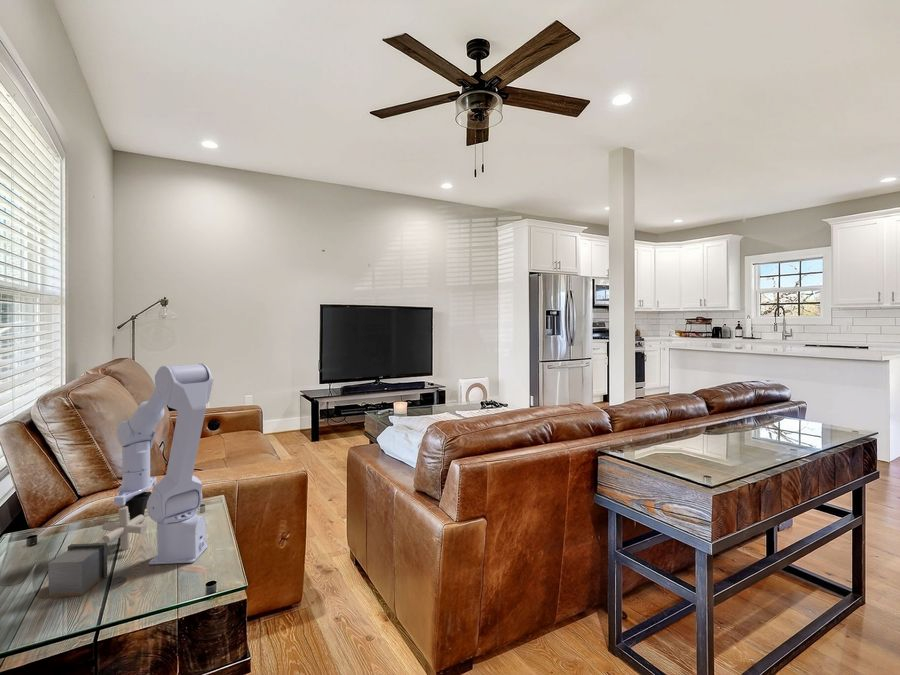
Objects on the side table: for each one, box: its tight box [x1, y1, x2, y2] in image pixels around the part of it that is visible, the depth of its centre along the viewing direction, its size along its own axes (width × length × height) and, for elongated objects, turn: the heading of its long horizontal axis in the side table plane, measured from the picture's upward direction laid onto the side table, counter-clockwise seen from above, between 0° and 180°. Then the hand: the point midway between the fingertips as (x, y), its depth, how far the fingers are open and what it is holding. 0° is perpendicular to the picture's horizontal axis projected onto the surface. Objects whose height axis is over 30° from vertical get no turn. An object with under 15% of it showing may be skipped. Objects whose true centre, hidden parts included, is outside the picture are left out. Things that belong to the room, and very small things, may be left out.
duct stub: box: [47, 542, 108, 598], centre depth 95 cm, size 7×7×7 cm
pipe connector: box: [101, 505, 147, 551], centre depth 111 cm, size 10×10×10 cm
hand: (136, 523), depth 117 cm, fingers closed, pressing on pipe connector
